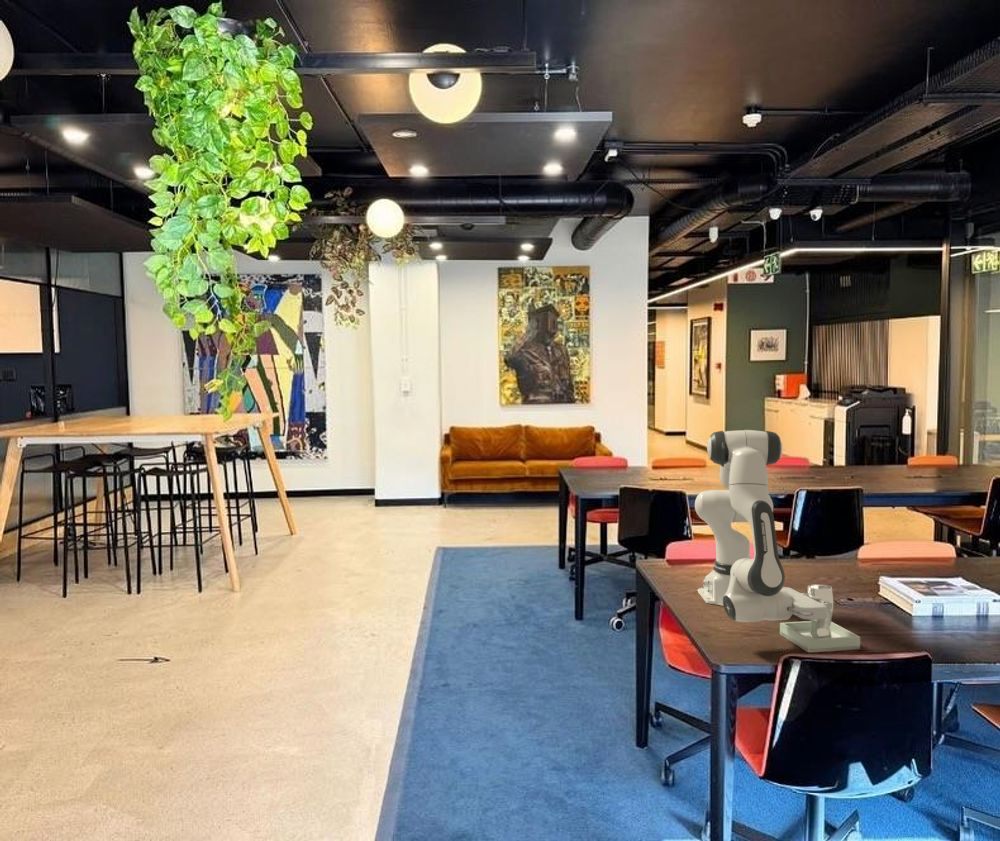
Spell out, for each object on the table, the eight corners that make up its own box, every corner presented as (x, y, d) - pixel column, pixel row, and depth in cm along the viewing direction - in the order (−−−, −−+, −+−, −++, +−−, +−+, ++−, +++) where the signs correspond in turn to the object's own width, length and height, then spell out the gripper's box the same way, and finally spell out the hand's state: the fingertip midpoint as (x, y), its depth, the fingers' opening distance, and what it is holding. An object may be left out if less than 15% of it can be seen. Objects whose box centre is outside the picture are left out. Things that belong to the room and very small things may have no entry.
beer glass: (826, 634, 214) (824, 583, 215) (839, 640, 207) (837, 588, 208) (803, 635, 214) (802, 584, 214) (816, 642, 207) (814, 589, 207)
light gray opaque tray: (779, 634, 218) (780, 622, 217) (828, 631, 220) (828, 619, 220) (808, 652, 203) (808, 640, 203) (860, 649, 205) (860, 637, 205)
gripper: (799, 604, 198) (845, 601, 200) (761, 584, 218) (803, 581, 221) (799, 626, 199) (845, 623, 201) (761, 604, 219) (803, 601, 221)
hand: (822, 601), depth 211 cm, fingers closed on beer glass, 6 cm apart
